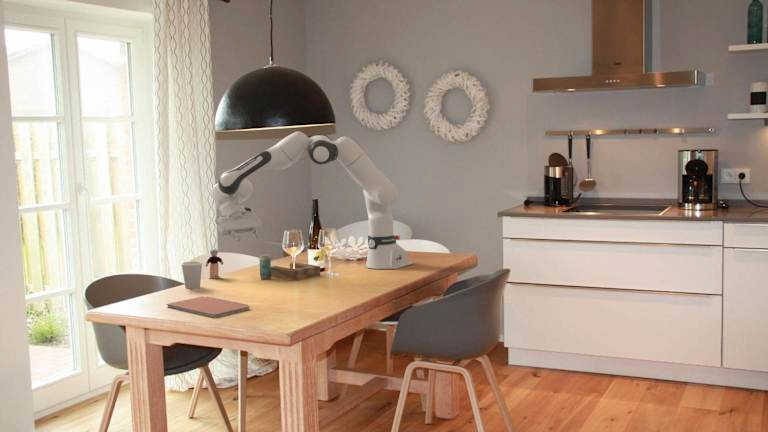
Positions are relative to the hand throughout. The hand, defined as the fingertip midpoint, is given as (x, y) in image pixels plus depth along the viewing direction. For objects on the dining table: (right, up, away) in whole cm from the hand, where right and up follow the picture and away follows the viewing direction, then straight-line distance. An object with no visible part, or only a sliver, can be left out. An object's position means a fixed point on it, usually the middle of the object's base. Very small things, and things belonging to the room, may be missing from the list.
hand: (247, 239), depth 348 cm
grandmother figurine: (-13, -17, -2) cm, 21 cm away
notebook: (-4, -24, -59) cm, 64 cm away
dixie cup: (-18, -19, -23) cm, 35 cm away
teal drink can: (+9, -17, -7) cm, 20 cm away
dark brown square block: (+20, -16, -1) cm, 26 cm away
